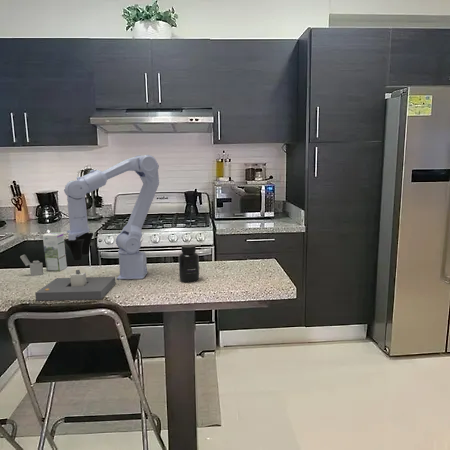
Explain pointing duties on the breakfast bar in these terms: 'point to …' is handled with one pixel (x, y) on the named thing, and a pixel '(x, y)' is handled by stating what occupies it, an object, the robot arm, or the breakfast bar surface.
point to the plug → (78, 279)
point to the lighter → (33, 266)
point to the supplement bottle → (189, 264)
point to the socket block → (76, 289)
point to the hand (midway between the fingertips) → (81, 257)
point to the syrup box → (54, 251)
